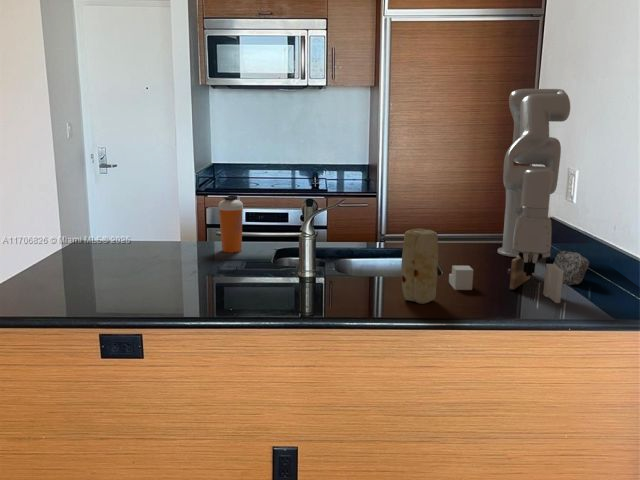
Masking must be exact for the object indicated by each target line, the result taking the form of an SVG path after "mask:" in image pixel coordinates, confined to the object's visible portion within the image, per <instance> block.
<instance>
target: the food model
mask: <svg viewBox="0 0 640 480" xmlns="http://www.w3.org/2000/svg"><path fill="white" fill-rule="evenodd" d="M438 235H439V234H437V232H436V231H434V230H431V229H425V228H412V229H409V230H406V231H405V232H404V237H403V241H402V242H403V245H402V252H401V253H402V254H401V265H400V266H401V287H402V293H403V294H402V295H403V297H404V299H405V300H406V301H410V302H415V303H417V304H421V305H423V304H427V303H430V302H431V301H434V300H435V298H436V296H437V295H436V293H437V292H436V291H437V282H438V266H439V240H438V239H439V237H438Z"/></svg>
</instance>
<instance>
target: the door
mask: <svg viewBox="0 0 640 480" xmlns="http://www.w3.org/2000/svg"><path fill="white" fill-rule="evenodd" d="M532 255H533V253H528V259H529V262H530V261H531V259H532ZM510 266H511V267H510V268H507V275H510V279H509V280H510V281H509V282H510V283H509V290H515V289H517V288H518V287H519V286H521V285H522V284H524V283H525V282H527V281H529V280H531V277H532V276H526V272H524V261H523V260H522V259H521V257H520V256H518V257H514V258H513V259H511V265H510Z"/></svg>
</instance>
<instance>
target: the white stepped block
mask: <svg viewBox="0 0 640 480" xmlns="http://www.w3.org/2000/svg"><path fill="white" fill-rule="evenodd" d="M473 281H474V269H473V268H472V267H471V266H470V265H451V273H449V274H448V283H449V284H450V285H451V287H452V289H454V290H455V291H472V290H473Z"/></svg>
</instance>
